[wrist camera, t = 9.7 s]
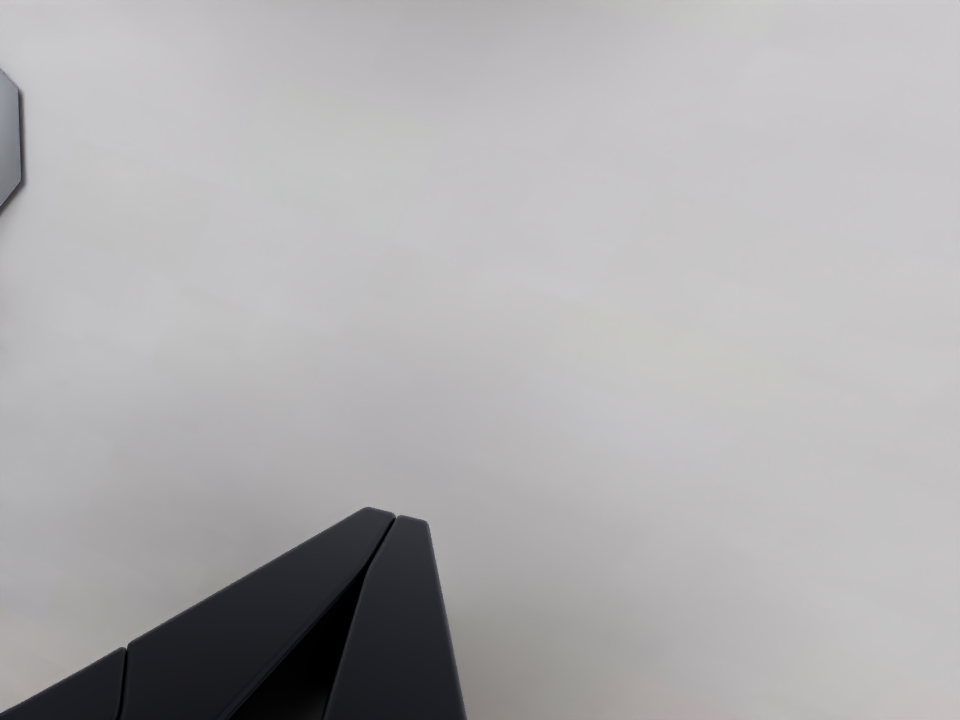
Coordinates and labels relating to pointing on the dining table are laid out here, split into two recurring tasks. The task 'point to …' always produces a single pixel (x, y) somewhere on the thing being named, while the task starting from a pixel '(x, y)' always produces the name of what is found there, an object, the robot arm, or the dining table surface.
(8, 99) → the flask
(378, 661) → the robot arm
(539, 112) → the dining table surface
